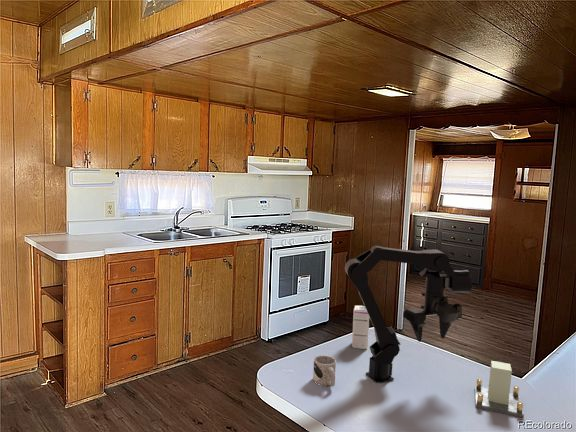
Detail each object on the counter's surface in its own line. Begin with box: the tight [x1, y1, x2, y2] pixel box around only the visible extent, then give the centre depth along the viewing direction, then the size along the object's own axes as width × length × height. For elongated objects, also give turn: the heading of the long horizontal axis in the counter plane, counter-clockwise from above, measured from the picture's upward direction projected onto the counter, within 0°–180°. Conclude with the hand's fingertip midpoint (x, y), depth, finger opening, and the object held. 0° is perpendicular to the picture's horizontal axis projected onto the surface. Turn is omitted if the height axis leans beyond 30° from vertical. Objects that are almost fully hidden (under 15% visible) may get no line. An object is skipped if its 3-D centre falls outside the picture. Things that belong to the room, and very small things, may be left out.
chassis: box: [474, 378, 525, 419], centre depth 128 cm, size 12×12×3 cm
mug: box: [312, 355, 337, 388], centre depth 135 cm, size 10×7×7 cm
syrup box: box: [351, 305, 370, 350], centre depth 165 cm, size 6×6×14 cm
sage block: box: [487, 360, 513, 405], centre depth 128 cm, size 5×5×10 cm
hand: (430, 339), depth 140 cm, fingers open, 9 cm apart
